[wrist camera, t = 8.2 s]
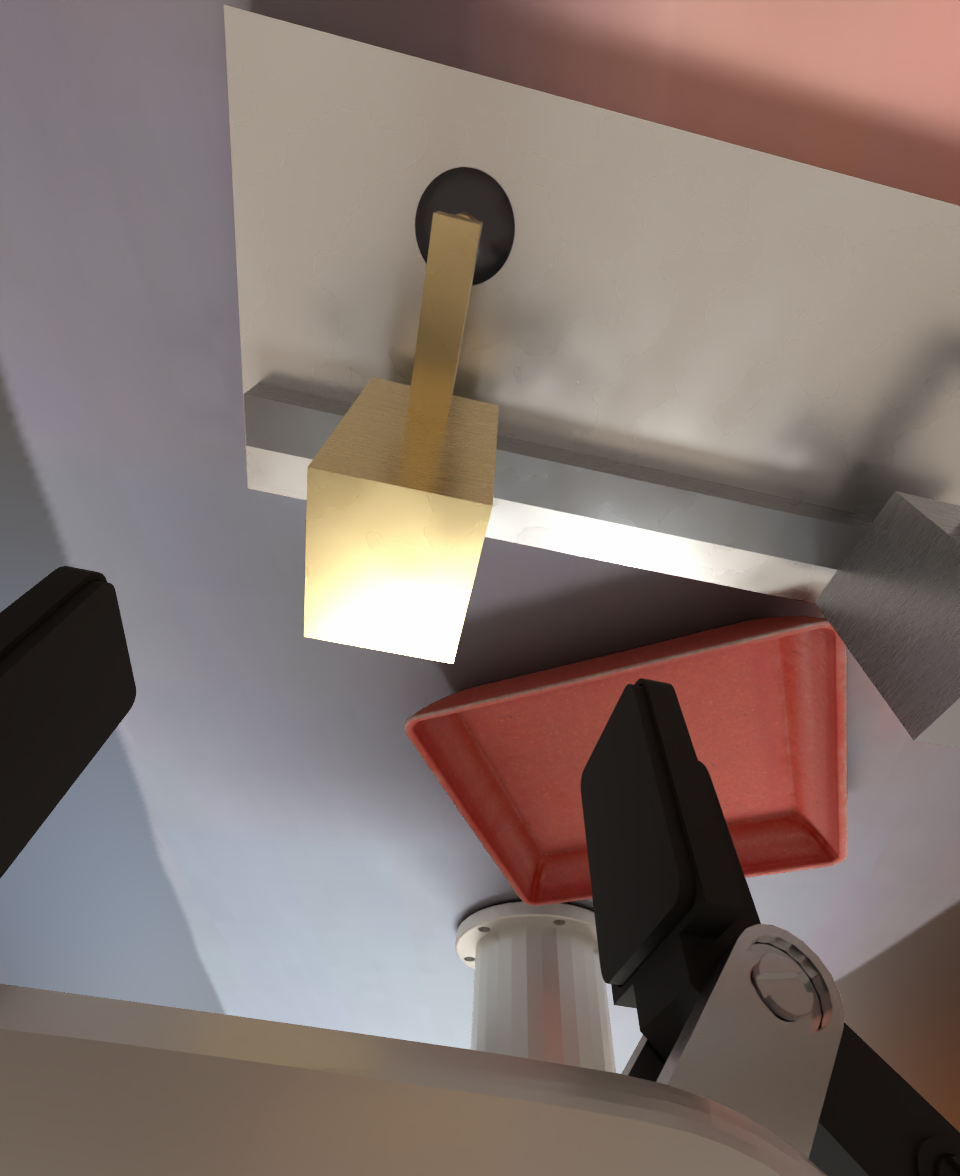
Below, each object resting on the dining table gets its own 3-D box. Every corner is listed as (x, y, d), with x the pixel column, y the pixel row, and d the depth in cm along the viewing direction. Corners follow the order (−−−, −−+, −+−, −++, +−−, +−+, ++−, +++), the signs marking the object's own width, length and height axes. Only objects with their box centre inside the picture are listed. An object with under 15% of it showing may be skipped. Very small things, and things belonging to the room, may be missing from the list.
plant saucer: (810, 567, 22) (851, 619, 20) (822, 811, 32) (850, 868, 29) (407, 669, 27) (395, 722, 24) (525, 855, 37) (526, 908, 34)
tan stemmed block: (471, 521, 19) (453, 664, 13) (367, 499, 19) (303, 636, 13) (536, 230, 14) (553, 263, 8) (395, 194, 14) (312, 203, 8)
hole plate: (906, 603, 23) (1082, 793, 16) (263, 470, 20) (133, 620, 13) (1187, 275, 16) (1739, 353, 9) (249, 20, 13) (-39, -156, 6)
